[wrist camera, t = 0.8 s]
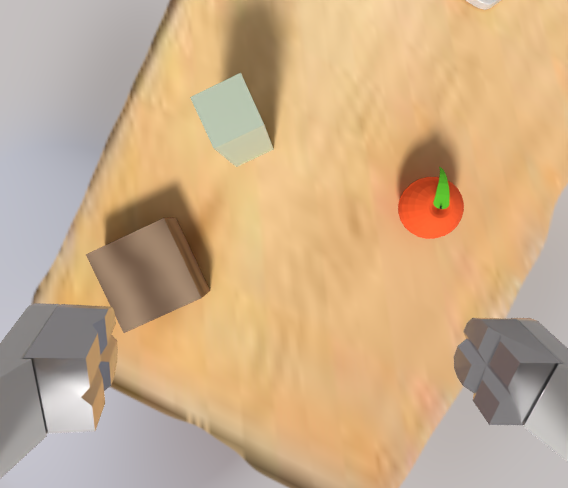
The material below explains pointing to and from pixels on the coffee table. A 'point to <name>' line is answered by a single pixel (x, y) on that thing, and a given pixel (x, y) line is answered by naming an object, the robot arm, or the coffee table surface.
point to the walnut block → (148, 273)
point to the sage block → (232, 121)
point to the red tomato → (431, 207)
